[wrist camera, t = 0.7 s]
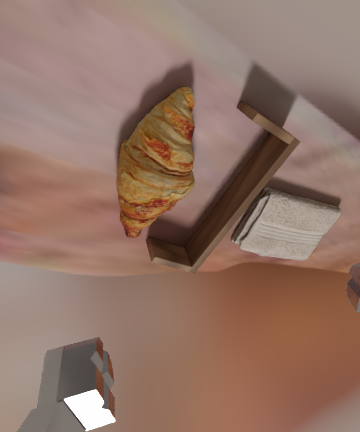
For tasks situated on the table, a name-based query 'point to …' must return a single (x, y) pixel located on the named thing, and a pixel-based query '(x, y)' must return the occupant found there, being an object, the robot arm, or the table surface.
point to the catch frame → (229, 198)
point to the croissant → (156, 162)
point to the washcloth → (284, 225)
